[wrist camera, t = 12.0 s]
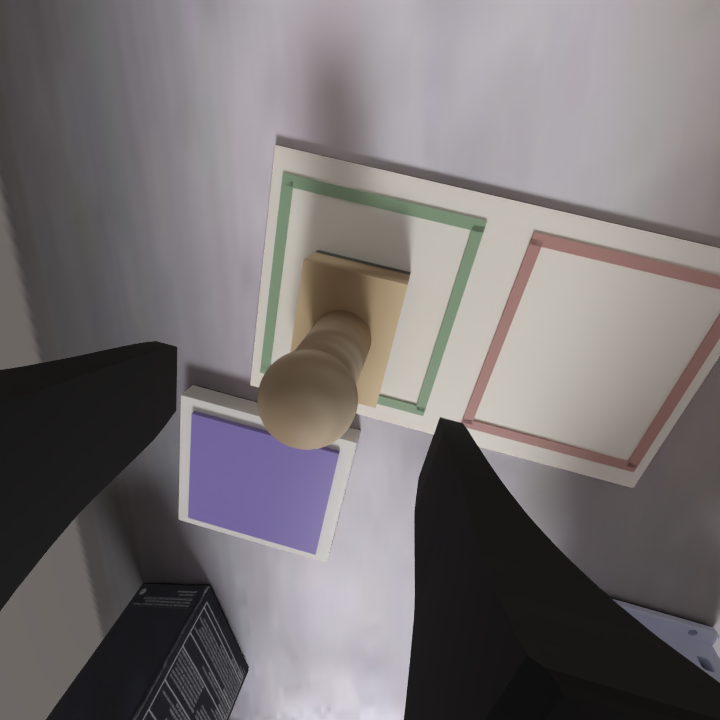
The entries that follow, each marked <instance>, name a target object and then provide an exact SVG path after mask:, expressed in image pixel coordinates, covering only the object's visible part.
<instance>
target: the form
mask: <svg viewBox="0 0 720 720" xmlns="http://www.w3.org/2000/svg"><path fill="white" fill-rule="evenodd" d="M317 250H321V251H325V252H329V253H333V254H337V255H341V256H346V257H350V258H354V259H358V260H362V261H366V262H370V263H375V264H379V265H383V266H387V267H391V268H395V269H400V270H404V271H408V272H411V273H410V278H409V282H408V286H407V290H406V294H405V298H404V302H403V305H402V309H401V313H400V317H399V321H398V325H397V329H396V332H395V336H394V340H393V344H392V348H391V352H390V356H389V359H388V363H387V367H386V371H385V375H384V379H383V383H382V387H381V390H380V394H379V398H378V402H377V406H376V408H373V407H370V406H366V405H362V404H358V406H357V412H356V414H359V415H363V416H366V417H370V418H374V419H378V420H381V421H385V422H389V423H392V424H396V425H400V426H404V427H407V428H411V429H415V430H418V431H422V432H426V433H430V434H433V435H434V433H435V430H436V427H437V424H438V421H439V418H440V417H441V418H445V419H449V420H453V421H456V422H460V423H463V424H464V425H465V427H466V428H467V430H468V431H469V433H470V434H471V436H472V438H473V439H474V441H475V442H476V444H477V446H478V447H482V448H485V449H489V450H493V451H497V452H500V453H504V454H508V455H511V456H515V457H519V458H523V459H526V460H530V461H534V462H537V463H541V464H545V465H549V466H552V467H556V468H560V469H563V470H567V471H571V472H575V473H578V474H582V475H586V476H589V477H593V478H597V479H601V480H604V481H608V482H612V483H615V484H619V485H623V486H627V487H630V488H634V486H635V485H636V483H637V482H638V480H639V479H640V477H641V476H642V474H643V473H644V471H645V470H646V468H647V467H648V465H649V464H650V462H651V460H652V459H653V457H654V456H655V454H656V453H657V451H658V450H659V448H660V447H661V445H662V444H663V442H664V441H665V439H666V438H667V436H668V435H669V433H670V431H671V430H672V428H673V427H674V425H675V424H676V422H677V421H678V419H679V418H680V416H681V415H682V413H683V412H684V410H685V409H686V407H687V405H688V404H689V402H690V401H691V399H692V398H693V396H694V395H695V393H696V392H697V390H698V389H699V387H700V386H701V384H702V383H703V381H704V379H705V378H706V376H707V375H708V373H709V372H710V370H711V369H712V367H713V366H714V364H715V363H716V361H717V360H718V358H719V357H720V248H717V247H713V246H709V245H704V244H700V243H696V242H691V241H687V240H683V239H678V238H674V237H670V236H665V235H661V234H657V233H653V232H648V231H644V230H640V229H635V228H631V227H627V226H622V225H618V224H614V223H610V222H605V221H601V220H597V219H592V218H588V217H584V216H579V215H575V214H571V213H566V212H562V211H558V210H554V209H549V208H545V207H541V206H536V205H532V204H528V203H523V202H519V201H515V200H511V199H506V198H502V197H498V196H493V195H489V194H485V193H480V192H476V191H472V190H468V189H463V188H459V187H455V186H450V185H446V184H442V183H437V182H433V181H429V180H424V179H420V178H416V177H412V176H407V175H403V174H399V173H394V172H390V171H386V170H381V169H377V168H373V167H369V166H364V165H360V164H356V163H351V162H347V161H343V160H338V159H334V158H330V157H326V156H321V155H317V154H313V153H308V152H304V151H300V150H295V149H291V148H287V147H282V146H278V145H275V152H274V162H273V171H272V181H271V190H270V200H269V210H268V219H267V229H266V238H265V248H264V258H263V267H262V277H261V286H260V296H259V306H258V315H257V325H256V334H255V344H254V354H253V363H252V373H251V382H250V385H251V386H255V387H259V385H260V382H261V380H262V378H263V376H264V374H265V372H266V371H267V370H268V368H269V367H270V366H271V365H272V364H273V363H274V362H275V361H276V360H277V359H279V358H280V357H282V356H284V355H286V354H288V353H290V351H291V344H292V337H293V330H294V323H295V316H296V309H297V301H298V294H299V287H300V280H301V273H302V266H303V260H304V259H305V258H307V257H308V256H310V255H311V254H313V253H314V252H316V251H317Z"/></svg>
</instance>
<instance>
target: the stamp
mask: <svg viewBox="0 0 720 720" xmlns="http://www.w3.org/2000/svg"><path fill="white" fill-rule="evenodd" d="M410 273H411V272H408V271H404V270H400V269H395V268H391V267H387V266H383V265H379V264H375V263H370V262H366V261H362V260H358V259H354V258H350V257H346V256H341V255H337V254H333V253H329V252H325V251H321V250H317V251H316V252H314V253H313V254H311V255H310V256H308V257H307V258H305V259H304V260H303V266H302V273H301V280H300V287H299V294H298V301H297V309H296V316H295V323H294V330H293V337H292V344H291V351H290V353H288V354H286V355H284V356H282V357H280V358H279V359H277V360H276V361H275V362H274V363H273V364H272V365H271V366H270V367H269V368H268V370H267V371H266V372H265V374H264V376H263V378H262V380H261V382H260V385H259V389H258V395H257V405H258V411H259V415H260V418H261V420H262V422H263V424H264V426H265V428H266V429H267V430H268V432H269V433H270V434H271V435H272V436H273V437H274V438H275V439H277V440H278V441H280V442H281V443H283V444H285V445H287V446H289V447H292V448H296V449H302V450H311V449H318V448H322V447H325V446H327V445H330V444H331V443H333V442H335V441H336V440H338V439H339V438H340V437H341V436H342V435H343V434H344V433H345V432H346V431H347V430H348V428H349V427H350V426H351V424H352V422H353V420H354V418H355V415H356V412H357V406H358V404H362V405H366V406H370V407H373V408H376V406H377V402H378V398H379V394H380V390H381V387H382V383H383V379H384V375H385V371H386V367H387V363H388V359H389V356H390V352H391V348H392V344H393V340H394V336H395V332H396V329H397V325H398V321H399V317H400V313H401V309H402V305H403V302H404V298H405V294H406V290H407V286H408V282H409V278H410Z"/></svg>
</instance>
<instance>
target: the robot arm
mask: <svg viewBox="0 0 720 720" xmlns="http://www.w3.org/2000/svg"><path fill="white" fill-rule="evenodd" d="M176 387H177V347H175V346H172V345H168V344H164V343H160V342H157V341H154V342H145V343H138V344H133V345H128V346H123V347H118V348H113V349H108V350H104V351H99V352H94V353H90V354H85V355H81V356H76V357H71V358H66V359H61V360H55V361H50V362H45V363H39V364H34V365H29V366H24V367H17V368H11V369H5V370H0V611H1V609H2V608H3V607H4V605H5V604H6V603H7V601H8V600H9V599H10V597H11V596H12V594H13V593H14V592H15V590H16V589H17V588H18V586H19V585H20V584H21V583H22V582H23V580H24V579H25V578H26V577H27V575H28V574H29V573H30V572H31V570H32V569H33V568H34V567H35V565H36V564H37V563H38V562H39V560H40V559H41V558H42V557H43V555H44V554H45V553H46V552H47V550H48V549H49V548H50V547H51V546H52V544H53V543H54V542H55V541H56V540H57V538H58V537H59V536H60V535H61V534H62V533H63V531H64V530H65V529H66V528H67V527H68V526H69V524H70V523H71V521H73V520H74V518H75V517H76V516H77V515H78V514H79V513H80V512H81V511H82V510H83V509H84V508H85V507H86V506H87V505H88V503H89V502H90V501H91V500H92V499H93V498H94V497H95V496H96V495H98V494H99V493H100V492H101V491H102V490H103V489H104V488H105V487H106V486H107V485H108V484H109V483H110V482H111V481H112V480H113V479H114V478H115V477H116V476H117V475H118V474H119V473H120V472H121V471H122V470H123V469H124V468H125V467H126V466H128V465H129V464H130V463H131V462H132V461H133V460H134V459H135V458H136V457H137V456H138V455H139V454H140V453H141V452H142V451H143V450H144V449H145V448H146V447H147V446H148V445H149V444H150V443H151V442H152V441H153V440H154V439H155V438H156V436H157V435H158V434H159V433H160V431H161V430H162V429H163V428H164V426H165V425H166V424H167V422H168V421H169V420H170V418H171V417H172V415H173V414H174V413H175V411H176ZM718 639H719V635H718V633H717V631H716V630H715V629H714V628H712V627H710V626H706V625H703V624H699V623H696V622H692V621H689V620H685V619H682V618H678V617H675V616H671V615H668V614H664V613H661V612H657V611H654V610H650V609H647V608H643V607H640V606H636V605H633V604H629V603H626V602H622V601H619V600H615V599H612V598H610V597H609V596H608V595H607V594H606V593H605V592H604V591H602V590H601V589H600V588H599V587H598V586H597V585H596V584H595V583H594V582H592V581H591V580H590V579H589V578H588V577H587V576H586V575H585V574H584V573H583V572H582V571H581V570H580V569H579V568H578V567H577V566H576V565H574V564H573V563H572V562H571V561H570V560H569V559H568V558H567V557H566V556H565V555H564V554H563V553H562V552H561V551H560V550H559V549H558V548H557V547H556V546H555V545H554V544H553V543H552V541H551V540H550V539H549V538H548V537H547V536H546V535H545V534H544V533H543V532H542V530H541V529H540V528H539V527H538V526H537V525H536V524H535V523H534V522H533V521H532V519H531V518H530V517H529V516H528V515H527V513H526V512H525V511H524V510H523V509H522V507H521V506H520V505H519V504H518V502H517V501H516V500H515V498H514V497H513V496H512V495H511V493H510V492H509V491H508V489H507V488H506V487H505V485H504V484H503V483H502V481H501V480H500V479H499V477H498V476H497V474H496V473H495V471H494V470H493V468H492V467H491V465H490V464H489V463H488V461H487V459H486V458H485V456H484V455H483V453H482V452H481V450H480V449H479V447H478V446H477V444H476V442H475V441H474V439H473V438H472V436H471V434H470V433H469V431H468V430H467V428H466V427H465V425H464V424H463V423H460V422H456V421H453V420H449V419H445V418H441V417H440V418H439V421H438V424H437V427H436V430H435V433H434V436H433V438H432V441H431V444H430V447H429V450H428V453H427V456H426V459H425V461H424V464H423V467H422V470H421V473H420V476H419V480H418V488H417V496H416V504H415V609H414V624H413V635H412V646H411V657H410V667H409V677H408V687H407V697H406V706H405V716H404V720H720V658H719V657H718V655H717V653H716V652H715V650H714V648H713V646H712V645H713V644H714V643H715V642H716V641H717V640H718Z"/></svg>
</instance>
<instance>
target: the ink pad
mask: <svg viewBox="0 0 720 720" xmlns="http://www.w3.org/2000/svg"><path fill="white" fill-rule="evenodd" d="M359 435H360V430H356V429H353V428H348V430H347V431H346V432H345V433H344V434H343V435H342V436H341V437H340V438H339V439H338V440H336V441H335V442H333V443H331V444H330V445H327V446H325V447H322V448H318V449H311V450H302V449H296V448H292V447H289V446H287V445H285V444H283V443H281V442H280V441H278V440H277V439H275V438H274V437H273V436H272V435H271V434H270V433H269V432H268V430H267V429H266V428H265V426H264V424H263V422H262V420H261V418H260V415H259V411H258V405H257V402H253V401H250V400H246V399H242V398H238V397H235V396H231V395H227V394H224V393H220V392H216V391H213V390H209V389H205V388H202V387H198V386H194V385H192V386H191V387H190V388H189V389H187V390H186V391H185V392H184V393H183V394H182V395H181V424H180V474H179V520H181V521H185V522H188V523H191V524H195V525H198V526H202V527H205V528H209V529H212V530H215V531H219V532H222V533H226V534H229V535H232V536H236V537H239V538H243V539H246V540H250V541H253V542H256V543H260V544H263V545H267V546H270V547H274V548H277V549H280V550H284V551H287V552H291V553H294V554H297V555H301V556H304V557H308V558H311V559H315V560H318V561H321V562H325V563H327V560H328V557H329V553H330V550H331V546H332V542H333V538H334V534H335V530H336V526H337V522H338V518H339V514H340V510H341V506H342V502H343V498H344V494H345V490H346V487H347V483H348V479H349V475H350V471H351V467H352V463H353V459H354V455H355V451H356V447H357V443H358V439H359Z"/></svg>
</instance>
